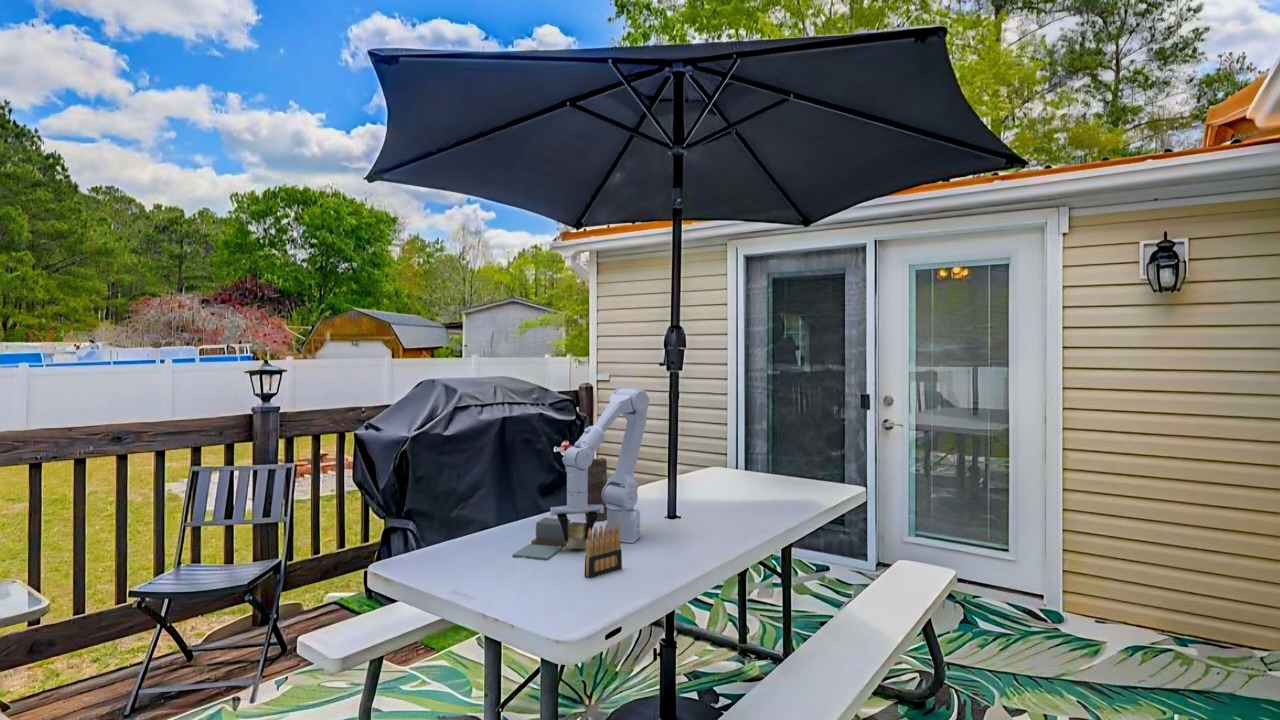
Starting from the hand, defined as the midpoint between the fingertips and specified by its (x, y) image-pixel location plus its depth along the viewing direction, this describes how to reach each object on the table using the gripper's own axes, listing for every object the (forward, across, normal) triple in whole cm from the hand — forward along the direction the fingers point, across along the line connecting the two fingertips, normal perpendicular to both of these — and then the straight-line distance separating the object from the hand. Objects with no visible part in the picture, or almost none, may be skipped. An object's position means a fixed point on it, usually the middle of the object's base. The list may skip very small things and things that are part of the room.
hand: (577, 539), depth 186 cm
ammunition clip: (+3, -3, +20) cm, 21 cm away
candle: (+3, -12, -32) cm, 35 cm away
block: (+2, 0, 0) cm, 2 cm away
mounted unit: (+3, +5, -9) cm, 11 cm away
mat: (+3, +11, +1) cm, 11 cm away
